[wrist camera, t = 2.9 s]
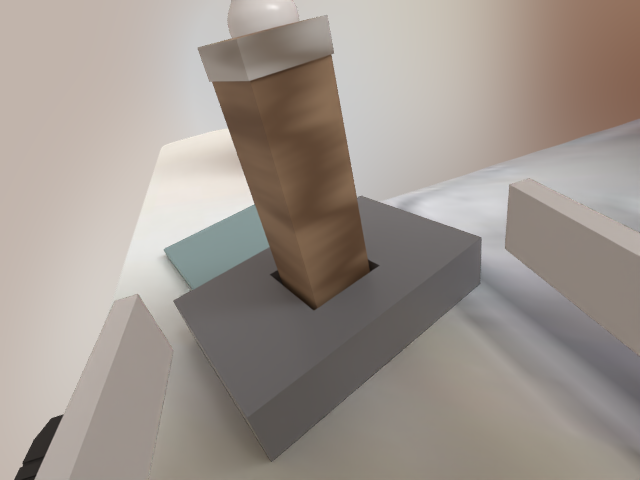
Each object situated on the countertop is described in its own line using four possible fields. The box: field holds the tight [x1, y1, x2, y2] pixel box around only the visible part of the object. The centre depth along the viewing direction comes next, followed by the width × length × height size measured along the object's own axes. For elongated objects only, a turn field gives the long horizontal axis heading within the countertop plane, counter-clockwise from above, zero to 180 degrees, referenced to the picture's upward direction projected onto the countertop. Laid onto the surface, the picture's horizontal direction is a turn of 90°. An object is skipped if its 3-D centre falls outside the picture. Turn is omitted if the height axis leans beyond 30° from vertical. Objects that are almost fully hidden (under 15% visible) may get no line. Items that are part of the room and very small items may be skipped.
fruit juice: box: [228, 0, 299, 38], centre depth 49 cm, size 9×9×28 cm
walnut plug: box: [198, 15, 370, 310], centre depth 22 cm, size 5×5×18 cm
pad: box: [164, 204, 270, 290], centre depth 38 cm, size 16×12×1 cm
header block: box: [174, 196, 481, 462], centre depth 26 cm, size 18×12×4 cm, turn 126°
